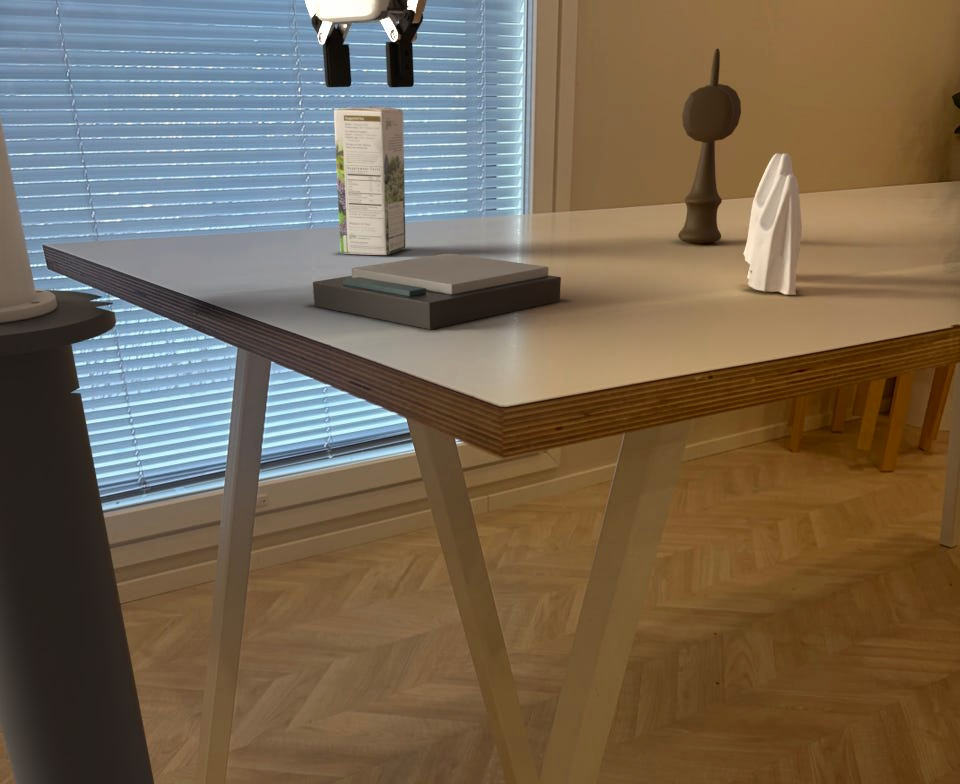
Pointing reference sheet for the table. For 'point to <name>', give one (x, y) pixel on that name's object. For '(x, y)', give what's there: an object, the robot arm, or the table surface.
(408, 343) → the table surface
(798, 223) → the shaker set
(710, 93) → the kendama
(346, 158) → the syrup box
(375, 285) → the scale
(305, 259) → the table surface
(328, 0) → the robot arm
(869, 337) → the table surface
